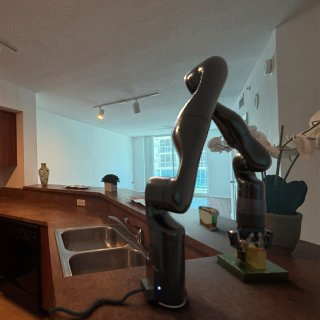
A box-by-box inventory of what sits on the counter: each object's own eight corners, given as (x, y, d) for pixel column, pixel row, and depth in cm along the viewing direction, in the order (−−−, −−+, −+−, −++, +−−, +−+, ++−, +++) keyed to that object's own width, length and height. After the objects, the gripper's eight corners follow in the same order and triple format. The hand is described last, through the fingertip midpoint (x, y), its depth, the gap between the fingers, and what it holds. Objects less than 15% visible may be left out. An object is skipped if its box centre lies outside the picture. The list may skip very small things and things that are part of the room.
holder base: (245, 284, 58) (245, 273, 58) (216, 261, 70) (216, 253, 70) (290, 282, 58) (291, 272, 58) (253, 260, 71) (253, 252, 70)
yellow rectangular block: (235, 256, 68) (236, 239, 68) (243, 255, 68) (243, 239, 68) (257, 269, 60) (257, 251, 60) (266, 269, 60) (266, 251, 60)
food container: (225, 232, 96) (225, 212, 96) (212, 232, 97) (212, 212, 96) (209, 223, 109) (209, 205, 108) (198, 223, 109) (198, 205, 109)
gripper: (260, 207, 68) (260, 254, 68) (220, 208, 67) (220, 256, 68) (283, 213, 60) (283, 267, 61) (239, 214, 60) (238, 268, 60)
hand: (250, 261), depth 64 cm, fingers open, 5 cm apart
